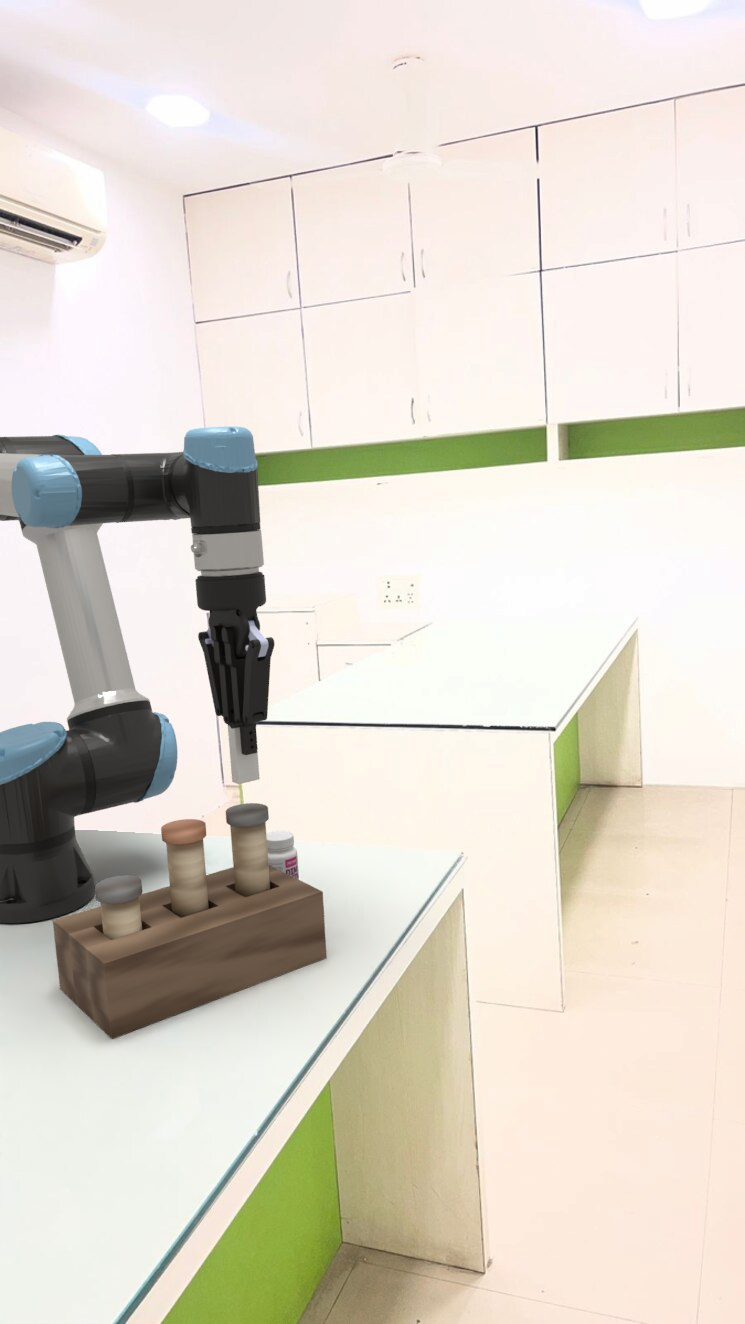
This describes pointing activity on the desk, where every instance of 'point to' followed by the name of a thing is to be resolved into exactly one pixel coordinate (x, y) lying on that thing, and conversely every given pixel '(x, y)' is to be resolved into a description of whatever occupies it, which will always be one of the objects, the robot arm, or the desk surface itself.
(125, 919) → the plug
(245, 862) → the plug
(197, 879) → the plug middle
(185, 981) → the socket board
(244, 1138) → the desk surface
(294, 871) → the pill bottle
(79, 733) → the robot arm
